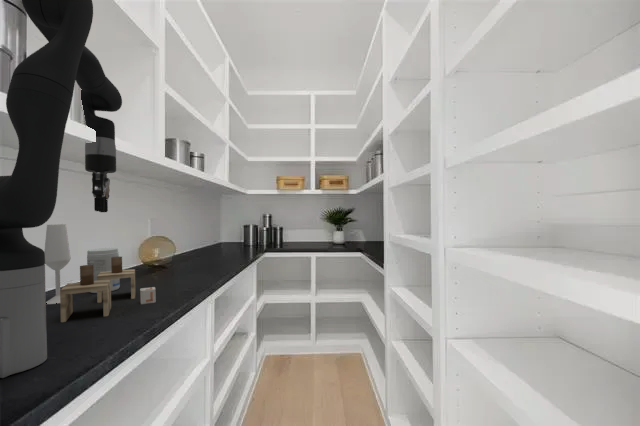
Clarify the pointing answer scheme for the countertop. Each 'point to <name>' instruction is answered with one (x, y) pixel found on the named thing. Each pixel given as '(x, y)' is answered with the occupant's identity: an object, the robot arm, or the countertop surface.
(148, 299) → the letter cube
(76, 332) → the countertop surface
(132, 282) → the oak cover
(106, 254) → the supplement tub
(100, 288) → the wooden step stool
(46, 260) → the champagne flute
